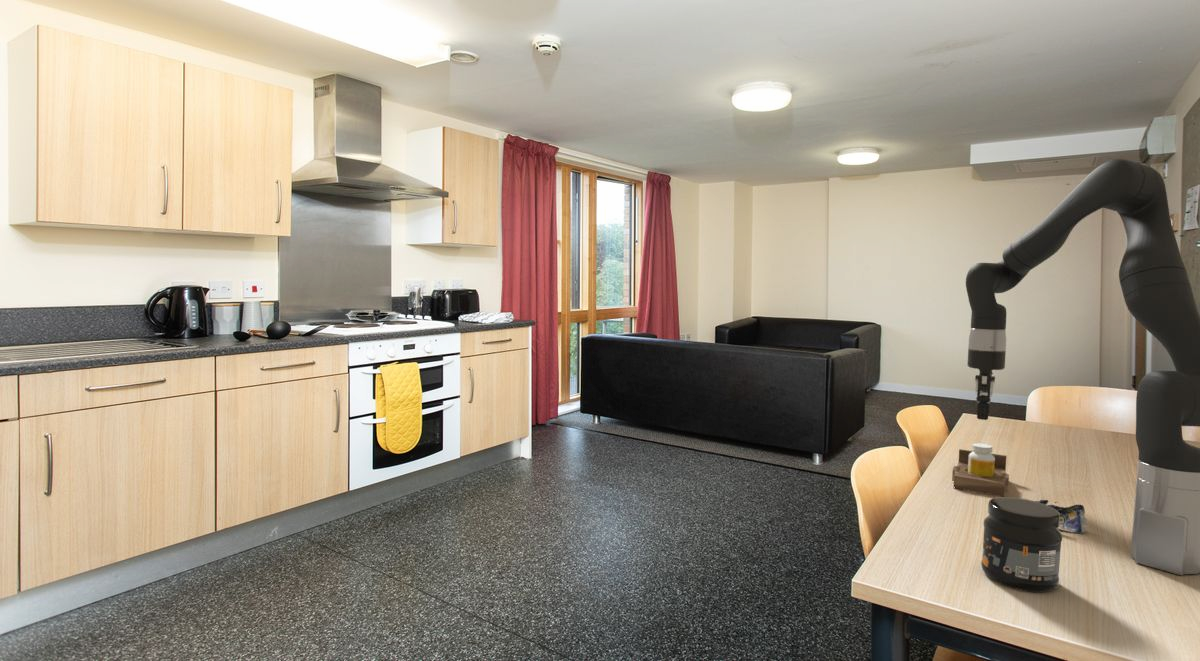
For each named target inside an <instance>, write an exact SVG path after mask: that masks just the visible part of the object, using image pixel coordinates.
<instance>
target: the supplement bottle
mask: <svg viewBox="0 0 1200 661" xmlns="http://www.w3.org/2000/svg"><path fill="white" fill-rule="evenodd" d="M971 449H972V451H974V452H971V453H970V454H969V458H968V473H971V474H974V475H980V476H994V466H995V457H994V456H993V455H992V454H993V445H990V444H986V443H980V442H979V443H972V448H971Z"/></svg>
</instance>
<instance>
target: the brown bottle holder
mask: <svg viewBox="0 0 1200 661" xmlns="http://www.w3.org/2000/svg"><path fill="white" fill-rule="evenodd" d="M971 452H974V451H973V450H967V449H962V448H961V449H960V448H959V449H958V462H957V465H954V466H953V467H952V472H951V473H952V474H951V475H952V476H951V482H952V481H954V483H953V488H954V487H955V488H960V489H959V490H961V489H965V490H964V491H967V490H969V491H970V492H974V493H980V494H981V493H982V494H986V495H991V496H992V495H993V496H998V497H1005V492H1007V491H1009V482H1010V481H1009V480H1010V474H1008V472H1007V471H1006V470H1007V455H1004V454H996V453H991V454H992V455H993V456H994V457H995V466H994V476H980V475H974V474H971V473H968V458H969V454H970V453H971ZM1006 472H1007V473H1006ZM955 488H954V489H955ZM969 491H968V492H969Z"/></svg>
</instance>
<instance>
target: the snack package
mask: <svg viewBox="0 0 1200 661" xmlns="http://www.w3.org/2000/svg"><path fill="white" fill-rule="evenodd" d="M1034 501H1035V502H1039V503H1042V504H1045V505H1048V506H1050V507H1052V508H1054V509H1056V510H1057V511H1058V512H1059V514H1060V521H1059V526H1058V527H1060V528H1063V529H1059V528H1058V529H1059V530H1060V531H1063V532H1067V533H1069V531H1070V532H1071V534H1073V533H1077V534H1083V533H1085V531H1086V525H1087V523H1086V520H1087V519H1086V516H1085V513H1086V512H1085V507H1084V505H1082V504H1074V505H1071V506H1067V507H1066V506H1065V507H1064V506H1063V507H1062V506H1058V505H1054V504H1056V503H1058V501H1056V502H1055V501H1054V504H1048V503H1049V500H1048V499H1041V500H1039V501H1038V500H1034ZM1064 529H1065V530H1064ZM1073 531H1074V532H1073Z"/></svg>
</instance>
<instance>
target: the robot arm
mask: <svg viewBox="0 0 1200 661" xmlns="http://www.w3.org/2000/svg"><path fill="white" fill-rule="evenodd" d="M1101 209H1105V210H1106V209H1107V210H1109V211H1113V212H1116V213H1117V214H1118V215H1119V217H1120V219H1121V222H1122V223H1123V224H1122V225H1123V227H1124V230H1125V234H1126V238H1127V244H1126V248H1125V251H1124V254H1123V257H1122V259H1121V263H1120V265H1119V270H1118V279H1119V283H1120V288H1121V291H1122V295H1123V300H1124V302H1125V305H1126V307H1127V310H1128V311H1129V313H1130V314H1131V316H1132V317H1133V318H1134V319H1135V320H1136V321H1137V322H1138V323H1139V324H1140V325H1142V326H1141V327H1143V328H1144V329H1145V330H1146V331H1147V332H1148V333H1150V334H1151V335H1152V336H1153V337H1154V338H1155V339H1156V340H1157V341H1158V342H1159V343H1160V344H1161V345H1162V347H1164V349H1166V352H1167V353H1168V355H1169V356H1170V358H1171V361H1172V362H1173V365H1174V366H1173V367H1174V369H1175V370H1154V371H1151V372H1148V373H1147V374H1145V375H1144V376H1143V377H1142V379H1141V380H1140V382H1139V383H1138V386H1137V389H1136V390H1137V391H1136V398H1135V401H1136V402H1135V442H1136V445H1137V449H1138V460H1137V473H1136V481H1135V482H1136V483H1135V494H1134V495H1135V496H1134V507H1133V508H1134V509H1133V518H1132V519H1133V522H1132V535H1131V547H1130V556H1131V557H1132V558H1133V559H1134V562H1135V563H1137V564H1139V565H1144V566H1147V567H1151V568H1154V569H1157V570H1161V571H1165V572H1168V573H1171V574H1174V575H1179V576H1183V575H1197V574H1200V447H1197V446H1195V445H1192V444H1189V443H1188V442H1186V441H1185V440H1184V437H1183V428H1182V427H1198V428H1200V313H1199V310H1198V307H1197V305H1196V304H1197V303H1196V301H1195V297H1194V293H1193V288H1192V284H1191V282H1190V278H1189V275H1188V272H1187V269H1186V267H1185V264H1184V261H1183V258H1182V256H1181V251H1180V248H1179V245H1178V241H1177V238H1176V236H1175V232H1174V229H1173V225H1172V221H1171V215H1170V208H1169V202H1168V194H1167V188H1166V183H1165V181H1164V178H1163V176H1162V175H1161V173H1160V172H1159V171H1158V170H1156V169H1155V168H1154V167H1152V166H1149V165H1145V164H1142V163H1138V162H1134V161H1132V160H1128V159H1124V158H1114V159H1110V160H1108V161H1104V162H1103V163H1102V164H1099V165H1098V166H1097V167H1096V168H1094V170H1092V171H1091V172H1090V173H1089V174H1088V175H1086V177H1085V178H1083V179H1082V180H1081V182H1079V183H1078V184H1077V185H1076V187H1075V188H1074V189H1072V191H1071V192H1069V193H1068V194H1067V196H1065V197H1064V198H1063V199H1062V200H1061V201H1060V203H1058V204H1057V205H1056V206H1055V208H1053V209H1052V211H1050V212H1049V213H1048V215H1046V216H1045V217H1044V218H1043V219H1042V220H1041V221H1039V222H1038V223H1037V224H1036V225H1035V226H1034V227H1032V228H1031V229H1030V230H1028V231H1027V232H1026V233H1024V234H1023V235H1021V236H1020V237H1018V238H1017V239H1016V240H1014V241H1013V242H1012V243H1011V244H1008V246H1007V247H1006V248H1005V249H1004V250H1003V252H1002V260H1000V261H999V262H979V263H976V264H973V265H972V266H971V267H970V268H969V269H968V271H967V274H966V277H965V287H966V289H965V290H966V293H967V298H968V302H969V307H970V310H971V314H970V316H971V317H970V331H969V335H968V349H967V350H968V351H967V367H968V368H970V369H974V370H975V369H977V370H979V374H978V375H977V374H975V378H974V384H975V395H976V398H975V399H976V404H977V409H976V419H978V420H981V421H983V420H984V421H987V420H989V414H990V403H991V397H992V396H993V395H994V394H993V392H994V386H995V384H996V383H995V382H996V376H992V375H993V374H994V373H993V371H1000V370H1001V371H1002V370H1005V367H1006V350H1007V331H1006V329H1007V308H1006V307H1005V305H1003V304H1001V303H1000V304H999V303H998V302H997V299H996V294H1004V293H1006V292H1008V291H1011V290H1012V289H1014V288H1015V287H1016V286H1018V285H1019V284H1020V282H1022V280H1023V279H1024V278H1025V277H1027V275H1028V274H1029V273H1030V271H1031V270H1033V269H1034V268H1036V267H1038V266H1039V265H1040V264H1043V263H1044V262H1045V261H1047V260H1048V259H1050V258H1051V257H1052V256H1054V255H1055V254H1056V253H1057V252H1059V250H1060V249H1061V248H1062V247H1063V246H1064V245H1065V243H1066V241H1067V240H1068V238H1069V236H1070V234H1071V232H1072V231H1073V229H1074V228H1075V227H1076V226H1077V224H1079V223H1080V222H1081V221H1082V220H1084V219H1085V218H1086V217H1088V216H1090V215H1091V214H1093V213H1096V212H1097V211H1099V210H1101Z"/></svg>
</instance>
